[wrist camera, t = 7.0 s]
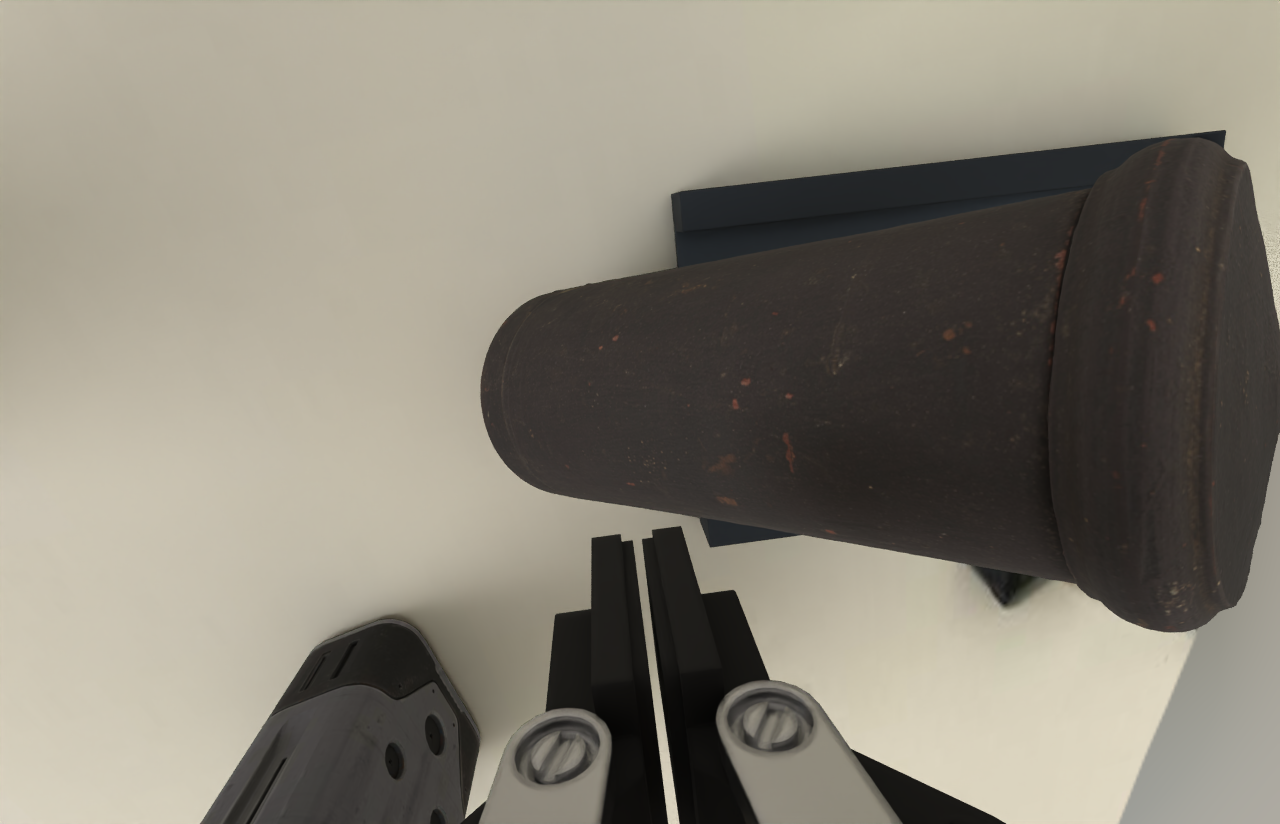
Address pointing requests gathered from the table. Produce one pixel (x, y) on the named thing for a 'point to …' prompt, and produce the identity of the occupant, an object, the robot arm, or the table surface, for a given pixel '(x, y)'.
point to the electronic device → (359, 740)
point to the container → (942, 387)
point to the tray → (873, 215)
